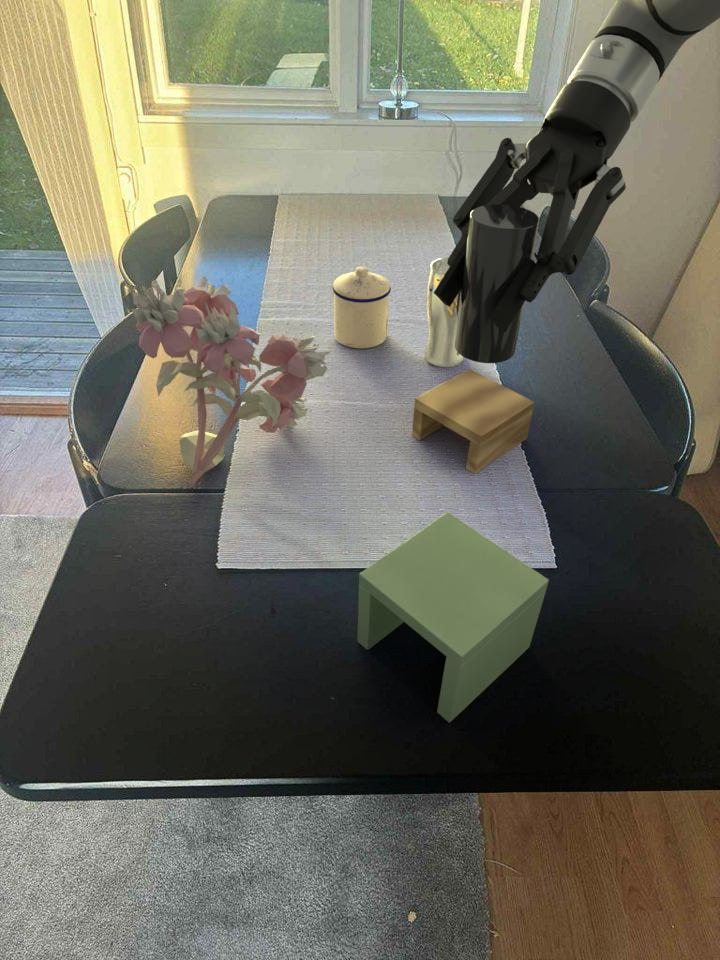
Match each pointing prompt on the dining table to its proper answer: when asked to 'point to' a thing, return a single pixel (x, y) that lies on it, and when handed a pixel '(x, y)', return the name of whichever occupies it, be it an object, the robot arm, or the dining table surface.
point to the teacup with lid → (361, 308)
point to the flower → (223, 364)
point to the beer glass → (441, 321)
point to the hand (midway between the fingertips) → (469, 311)
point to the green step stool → (454, 604)
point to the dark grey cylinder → (492, 279)
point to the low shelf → (475, 416)
